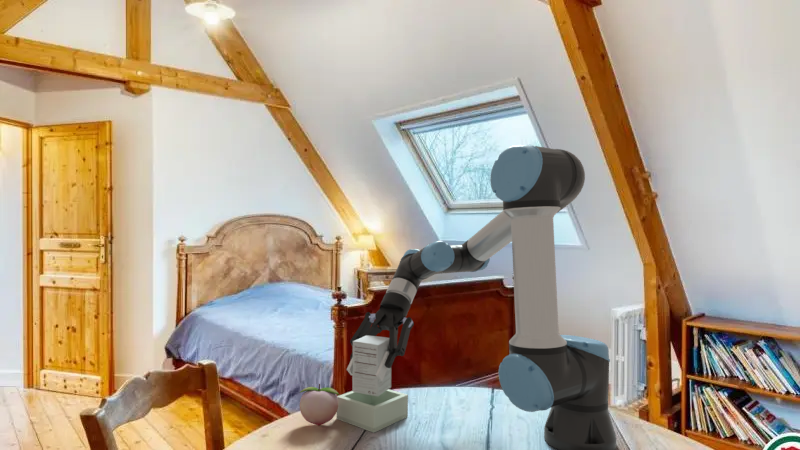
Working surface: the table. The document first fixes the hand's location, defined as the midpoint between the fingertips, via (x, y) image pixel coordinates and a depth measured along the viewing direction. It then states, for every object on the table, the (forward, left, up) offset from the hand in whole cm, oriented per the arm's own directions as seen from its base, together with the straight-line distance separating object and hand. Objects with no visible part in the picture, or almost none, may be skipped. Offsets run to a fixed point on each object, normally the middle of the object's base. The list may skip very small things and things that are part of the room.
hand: (364, 375), depth 124 cm
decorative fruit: (+6, +9, -12) cm, 16 cm away
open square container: (0, -3, -11) cm, 12 cm away
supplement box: (+1, -3, -5) cm, 6 cm away
